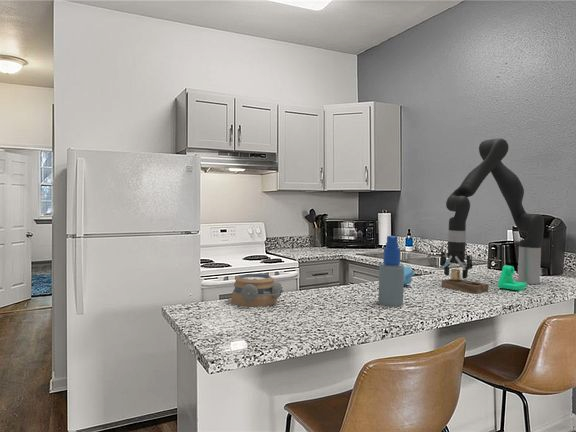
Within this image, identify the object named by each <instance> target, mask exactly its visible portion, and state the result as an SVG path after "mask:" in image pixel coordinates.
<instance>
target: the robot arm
mask: <svg viewBox="0 0 576 432" xmlns="http://www.w3.org/2000/svg"><path fill="white" fill-rule="evenodd" d="M478 152H479V155H480V158H481V159H482V162H480V164H479V165H477V166H475V168H473V169H472V170H471V171H470V172H468V174H467V175H466V176H465V178H464V180H462V182H461V184H460V185H459V186H458V187H457V188H456V189H454V191H453V192H452V193H451V194H450V195H449V196H448V197H447V200H446V201H445V205H446V206H445V207H446V209H447V210H449V212H454V214H453V215H454V216H452V217H450V218H449V220H448V233H447V246H446V247H447V248H446V249H447V252H446V251H444V252H443V251H442V252H441V253H440V261H439V262H440V263H439V264H440V265H441V266H443V268H444V269H443V271H444V273H443V274H444V276H450V265H451V264H457V265H459V266H460V267H461V268H462V272H461V274H462V277H461V278H462V279H463V280H465V279H467V278H468V274H469V270H472V269H473V255H472V254H466V248H467V246H466V245H467V234H466V228H467V227H466V226H467V224H466V223H467V219H468V216H469V213H470V208H471V202H470V199H469V198H470V197H472V196H474V195H475V194H476V193H477V191H478V189H479V187H480V186H481V185H482V183H483V182H484V181H485V179H486V177H487V176H488V175H489V174H490V173H491V175H492V177H493V178H494V180H495V182H496V185H497V186H498V188H499V191H500V193H501V194H502V196H503V198H504V200H505V203H506V205H507V206H508V209H509V212H510V213H511V217H512V220H513V222H514V225H515V226H516V228H517V230H518V231H519V232H521V233H528V235H527V237H526V238H523V239H520V240H519V242H518V266H517V282H522V283H527V285H539V284H541V283H540V280H541V262H542V259H541V257H542V243H543V240H544V232H545V220H544V217H543V216H542V215H541V214H539V213H527V212H526V210H525V208H524V206H523V198H524V197H525V196H524V195H525V189H524V186H523V184H522V182H521V180H520V178H519V176H517V175H516V174H515V172H513V171H512V170H511V169H509V168H508V167H507V166H506V165H505V164H504V163H503V162H502V160H503V159H504V158H505V157H506V155H507V153H509V143H508V142H507V140H506V139H504V138H492V139H491V138H490V139H486V140H483V141H481V142H480V143H479V147H478Z"/></svg>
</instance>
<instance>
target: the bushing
mask: <svg viewBox="0 0 576 432" xmlns="http://www.w3.org/2000/svg"><path fill="white" fill-rule="evenodd" d="M450 273H451V274H450V275H451V276H450V277H451V278H450V279H451V281H454V282H460V279H461V269H458V268H451V272H450Z"/></svg>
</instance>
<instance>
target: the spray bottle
mask: <svg viewBox="0 0 576 432" xmlns="http://www.w3.org/2000/svg"><path fill="white" fill-rule="evenodd" d="M398 239H399V238H398V236H396V235H387V236H386V242H385V246H384V247H383V256H382V257H383V258H382V259H383V263H382V262H381V263H379V266H378V268H379V269H378V299H377V301H378V305H382V306H384V307H396V308H397V307H402V306H404V287H405V286H404V266H405V265H404V264H403V263H401V248H400V247H399V243H398ZM400 263H401V264H400Z"/></svg>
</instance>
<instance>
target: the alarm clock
mask: <svg viewBox="0 0 576 432" xmlns="http://www.w3.org/2000/svg"><path fill="white" fill-rule="evenodd" d="M233 286H234V289H233V291H232V292H231V294H230V296H231V297H230V300H231V301H230V302H231V303H232V304H233V305H237V306H242V307H249V308H250V307H251V308H255V307H256V308H257V307H259V308H261V307H266V306H267V307H268V306H272V305H275V304H277V303H278V298H280V297H281V295H282V293H284V292H285V291H284V289H283V286H282V283H281V282H279V281H276V282H275V278H273V277H272V276H270V275H269V274H264V273H248V274H247V273H245V274H241V275H239V276H238V277H236V278H235V282H234V283H233Z"/></svg>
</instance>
